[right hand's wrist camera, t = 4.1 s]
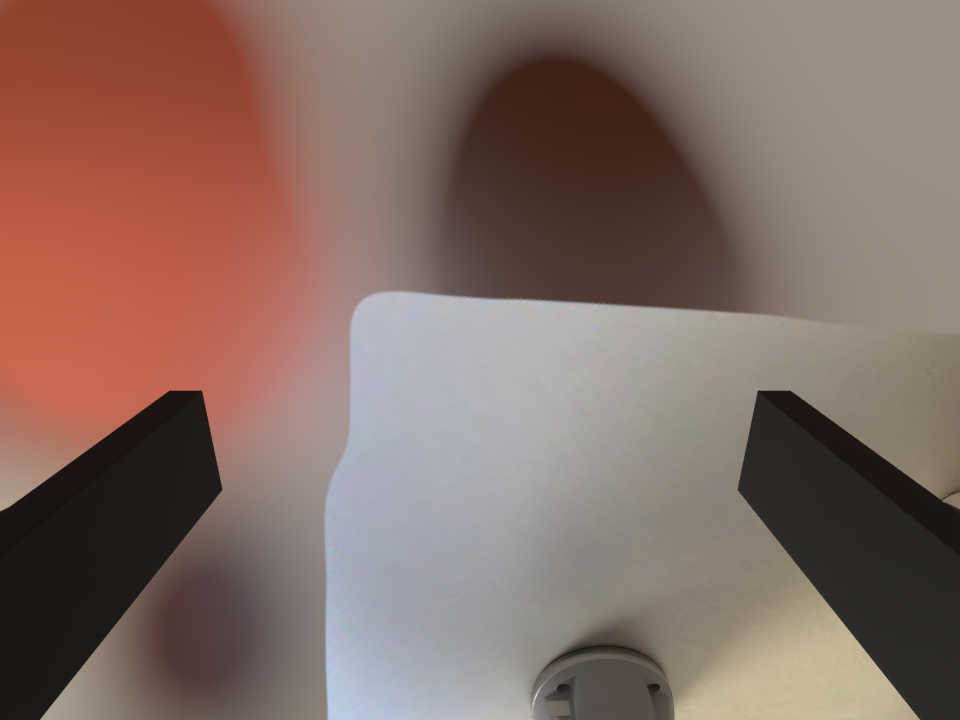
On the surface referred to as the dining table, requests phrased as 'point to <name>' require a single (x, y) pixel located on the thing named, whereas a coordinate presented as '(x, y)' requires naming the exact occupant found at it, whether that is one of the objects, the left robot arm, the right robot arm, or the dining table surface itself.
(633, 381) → the dining table surface
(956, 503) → the bottle
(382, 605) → the dining table surface
